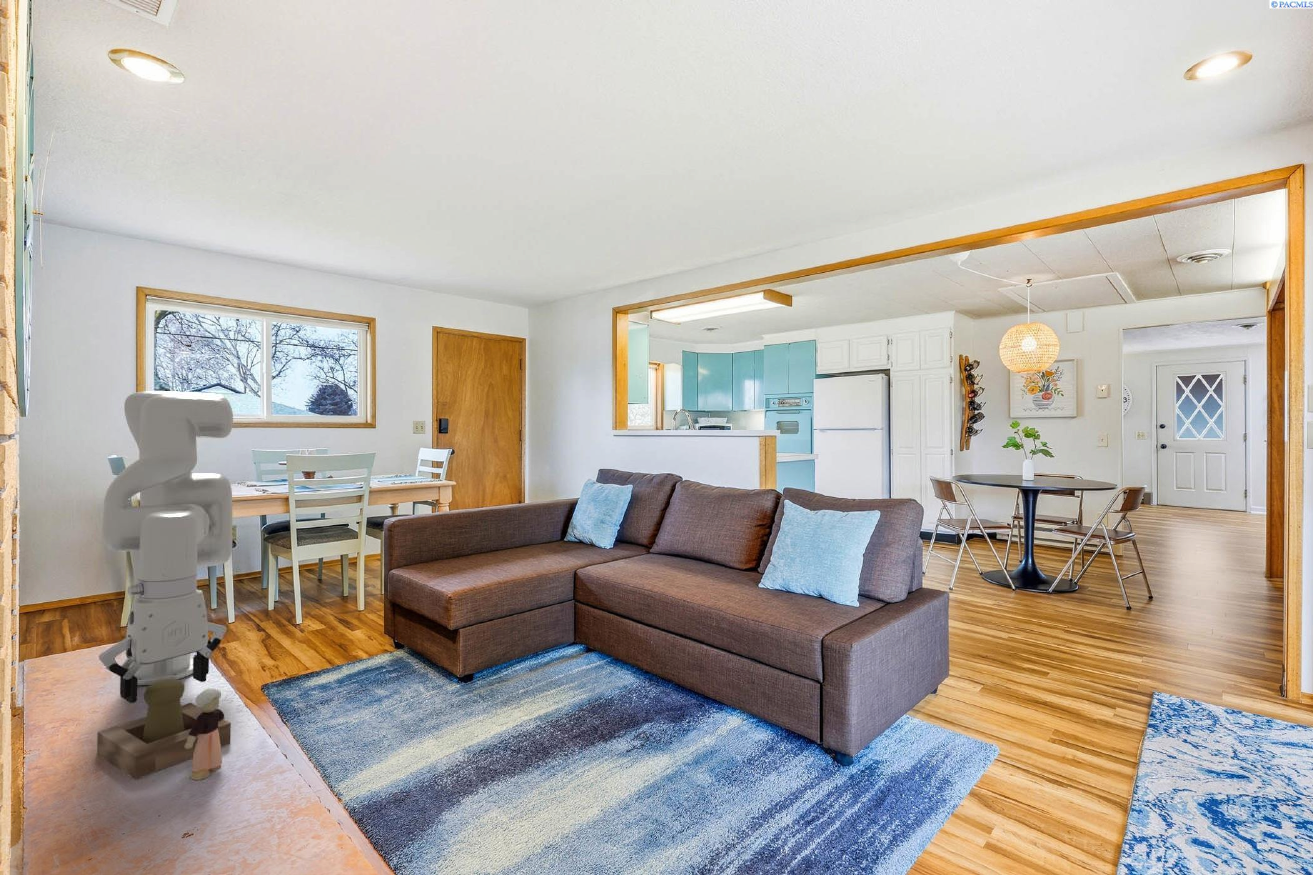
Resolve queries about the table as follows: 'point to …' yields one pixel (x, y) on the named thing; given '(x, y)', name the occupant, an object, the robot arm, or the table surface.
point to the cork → (163, 710)
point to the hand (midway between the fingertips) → (166, 689)
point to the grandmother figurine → (206, 735)
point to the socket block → (151, 745)
